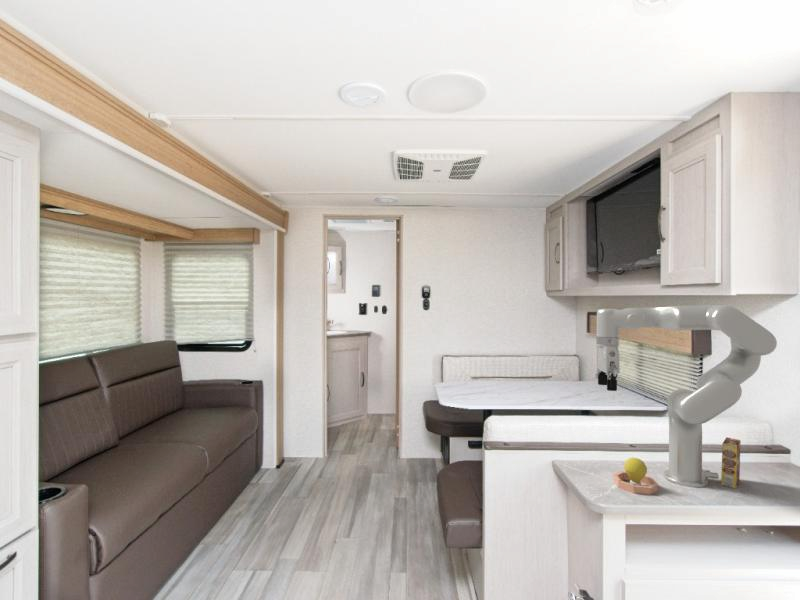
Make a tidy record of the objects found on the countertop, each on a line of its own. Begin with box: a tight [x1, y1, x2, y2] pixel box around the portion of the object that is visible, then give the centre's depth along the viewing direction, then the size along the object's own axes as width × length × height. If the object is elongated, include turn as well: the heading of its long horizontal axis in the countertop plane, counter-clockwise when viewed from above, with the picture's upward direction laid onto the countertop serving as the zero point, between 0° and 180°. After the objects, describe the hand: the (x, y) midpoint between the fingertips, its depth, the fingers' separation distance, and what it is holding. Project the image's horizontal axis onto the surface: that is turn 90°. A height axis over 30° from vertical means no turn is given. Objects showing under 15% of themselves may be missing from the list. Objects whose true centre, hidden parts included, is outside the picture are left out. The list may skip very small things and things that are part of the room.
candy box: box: [720, 437, 742, 489], centre depth 138 cm, size 9×4×15 cm, turn 134°
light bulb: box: [623, 457, 648, 486], centre depth 136 cm, size 7×7×10 cm
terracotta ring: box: [613, 470, 659, 495], centre depth 136 cm, size 12×12×3 cm
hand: (607, 387), depth 150 cm, fingers open, 9 cm apart
